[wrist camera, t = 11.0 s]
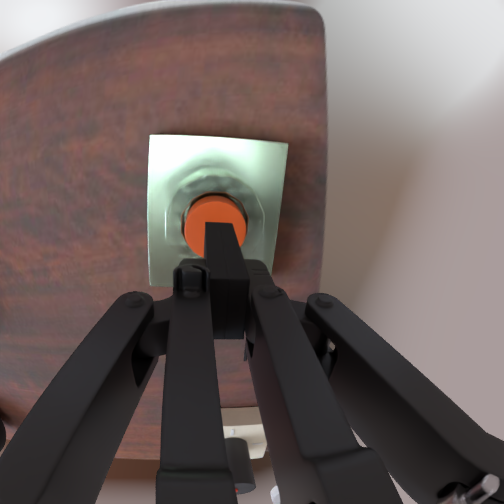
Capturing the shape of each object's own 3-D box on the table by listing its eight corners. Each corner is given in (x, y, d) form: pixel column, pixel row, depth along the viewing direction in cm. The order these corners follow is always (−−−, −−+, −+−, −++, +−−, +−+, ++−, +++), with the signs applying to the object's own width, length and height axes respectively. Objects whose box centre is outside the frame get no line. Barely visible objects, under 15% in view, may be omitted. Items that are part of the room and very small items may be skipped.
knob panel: (259, 442, 39) (263, 458, 36) (193, 444, 37) (194, 461, 34) (268, 405, 35) (273, 424, 32) (190, 408, 33) (191, 427, 30)
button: (240, 250, 22) (243, 260, 20) (185, 248, 21) (183, 259, 20) (245, 196, 20) (249, 203, 19) (187, 194, 20) (185, 200, 18)
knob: (248, 436, 33) (258, 483, 26) (245, 451, 34) (254, 494, 28) (214, 438, 32) (219, 486, 25) (214, 453, 34) (219, 497, 27)
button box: (264, 277, 27) (274, 300, 24) (153, 274, 25) (146, 298, 22) (281, 141, 23) (296, 144, 19) (154, 133, 21) (145, 134, 17)
